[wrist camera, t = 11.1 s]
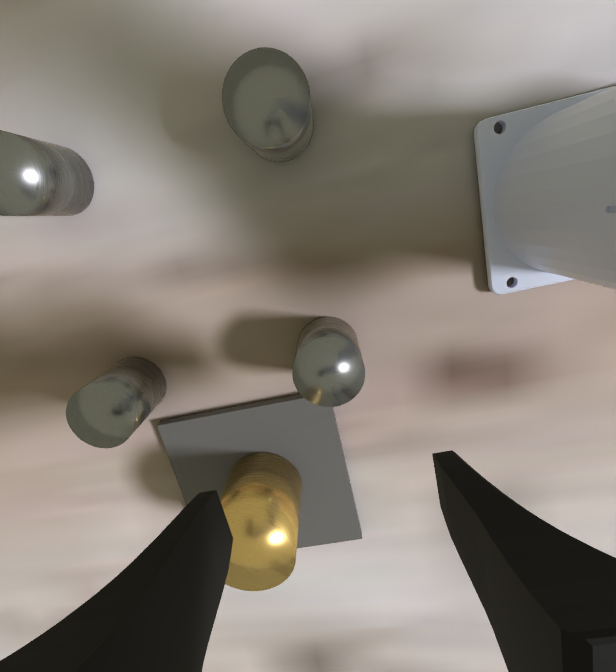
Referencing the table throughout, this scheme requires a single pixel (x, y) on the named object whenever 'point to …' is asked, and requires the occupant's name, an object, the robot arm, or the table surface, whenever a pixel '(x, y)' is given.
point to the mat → (277, 438)
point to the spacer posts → (76, 194)
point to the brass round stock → (262, 520)
